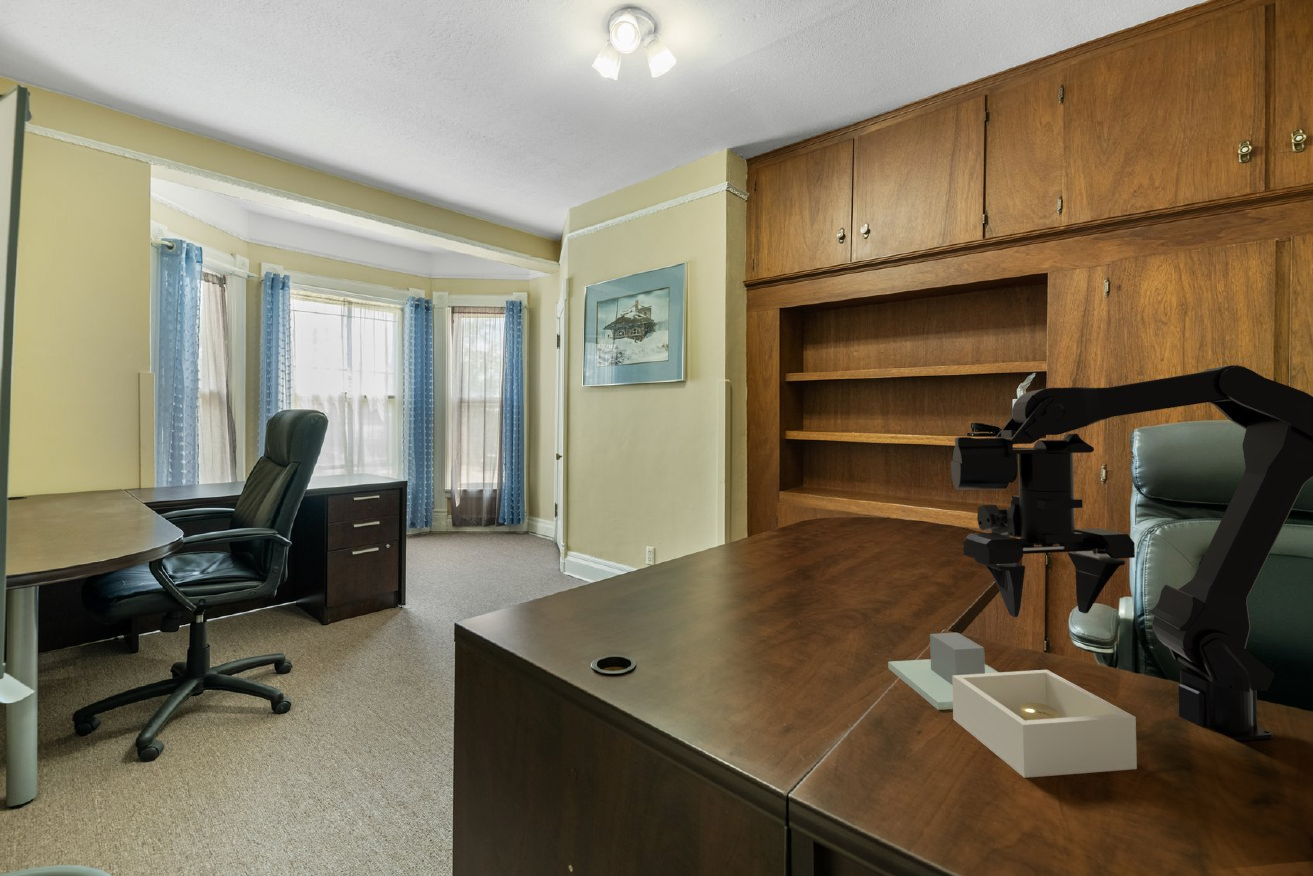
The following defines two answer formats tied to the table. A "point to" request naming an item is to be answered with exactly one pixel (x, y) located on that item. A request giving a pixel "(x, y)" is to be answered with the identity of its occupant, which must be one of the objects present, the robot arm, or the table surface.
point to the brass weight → (1037, 711)
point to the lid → (942, 667)
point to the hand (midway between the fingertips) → (1048, 614)
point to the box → (1044, 724)
